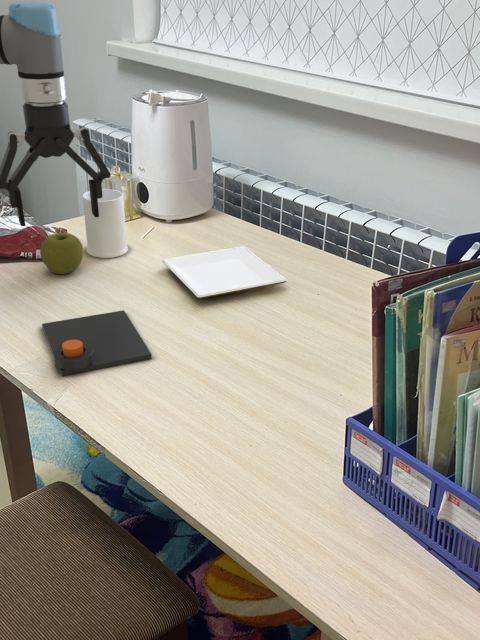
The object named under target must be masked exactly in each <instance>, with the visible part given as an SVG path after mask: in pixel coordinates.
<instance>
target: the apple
mask: <svg viewBox="0 0 480 640" xmlns="http://www.w3.org/2000/svg"><path fill="white" fill-rule="evenodd" d="M39 252H40V257H41V261H42V263H43V264H44V266H45V267H46V268H47V269H48V270H49V271H50V272H52V273H53V274H56V275H66V274H69V273H72V272H74V271H76V269H78V267H80V265H81V263H82V261H83V258H84V247H83V244H82V241H81V240H80V239H79V238H78V236H76V235H74V234H72V233H69V232H57V233H52V234H50V235H48V236H47V237H46V238H44V240H43V241H42V242H41V245H40V251H39Z"/></svg>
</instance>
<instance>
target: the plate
mask: <svg viewBox="0 0 480 640" xmlns="http://www.w3.org/2000/svg"><path fill="white" fill-rule="evenodd" d="M161 262H162V264H164V265H165V266H166V267H167V268H168V269H169V270H170V272H171V273H173V274H174V275H175V276H176V277H177V279H179V281H181V283H182V284H184V286H185V287H186V288H187V289H188V290H189V291H190V292H191V293H192V294H193V295H194V296H195V297H196V298H197V299H199V300H203V299H207V298H212V297H217V296H223V295H228V294H233V293H238V292H243V291H249V290H253V289H259V288H264V287H269V286H270V287H271V286H274V285H275V286H276V285H281V284H285V283H287V282H288V279H287V278H286V277H284V276H283V275H282V274H281V273H280V272H278V271H277V270H275V269H274V268H273V267H272V266H271V265H269V264H268V263H266V262H265V261H264V260H263V259H261V257H259V256H257V255H256V254H255V253H254V252H253V251H251V250H250V249H249V248H247V247H246V246H244V245H242V246H241V245H240V246H235V247H228V248H223V249H222V248H221V249H216V250H211V251H210V250H209V251H204V252H198V253H191V254H185V255H178V256H171V257H166V258H163V259H161Z"/></svg>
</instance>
